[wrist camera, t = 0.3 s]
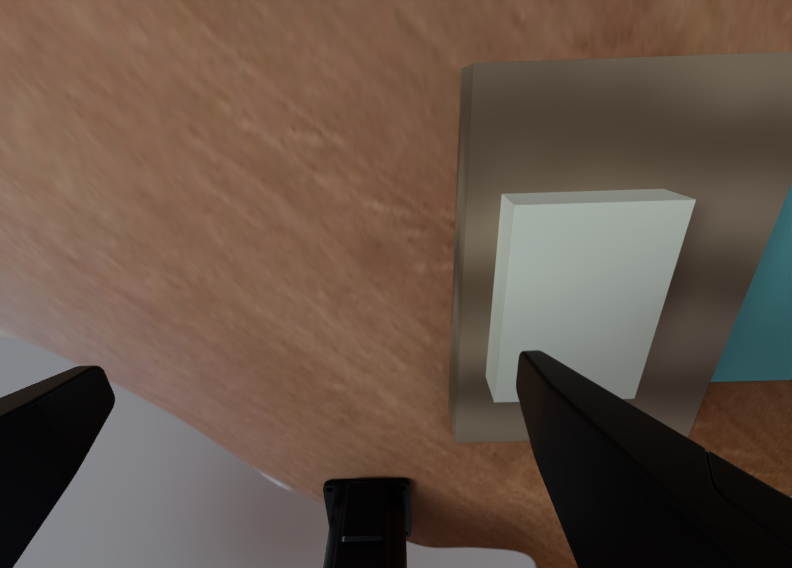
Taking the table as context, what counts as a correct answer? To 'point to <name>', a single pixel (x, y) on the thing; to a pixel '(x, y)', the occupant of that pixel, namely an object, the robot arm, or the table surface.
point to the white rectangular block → (583, 282)
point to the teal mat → (764, 314)
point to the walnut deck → (623, 170)
